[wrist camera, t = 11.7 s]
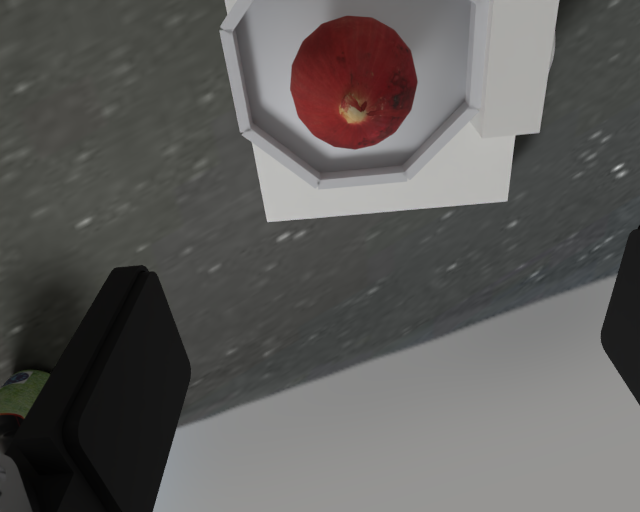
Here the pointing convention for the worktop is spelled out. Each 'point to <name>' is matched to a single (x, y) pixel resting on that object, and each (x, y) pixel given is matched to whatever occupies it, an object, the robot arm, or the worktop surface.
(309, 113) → the red pomegranate
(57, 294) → the worktop surface
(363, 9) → the kitchen scale
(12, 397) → the beverage can
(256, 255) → the worktop surface
